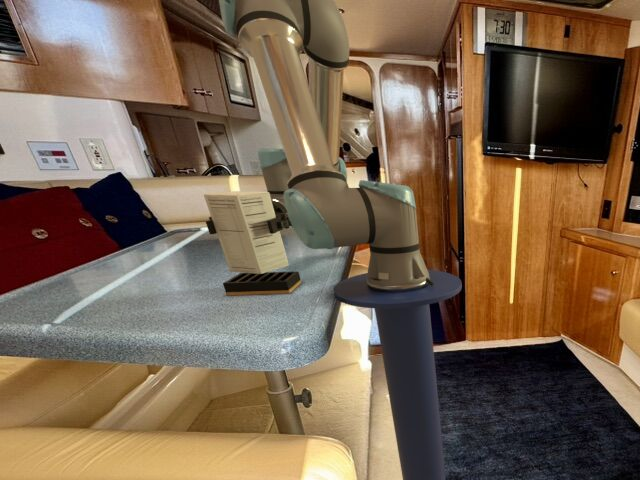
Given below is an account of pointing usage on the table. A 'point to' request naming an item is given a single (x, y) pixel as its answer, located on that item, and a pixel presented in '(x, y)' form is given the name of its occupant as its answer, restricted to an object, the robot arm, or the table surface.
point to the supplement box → (247, 231)
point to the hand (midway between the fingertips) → (240, 227)
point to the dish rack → (262, 283)
